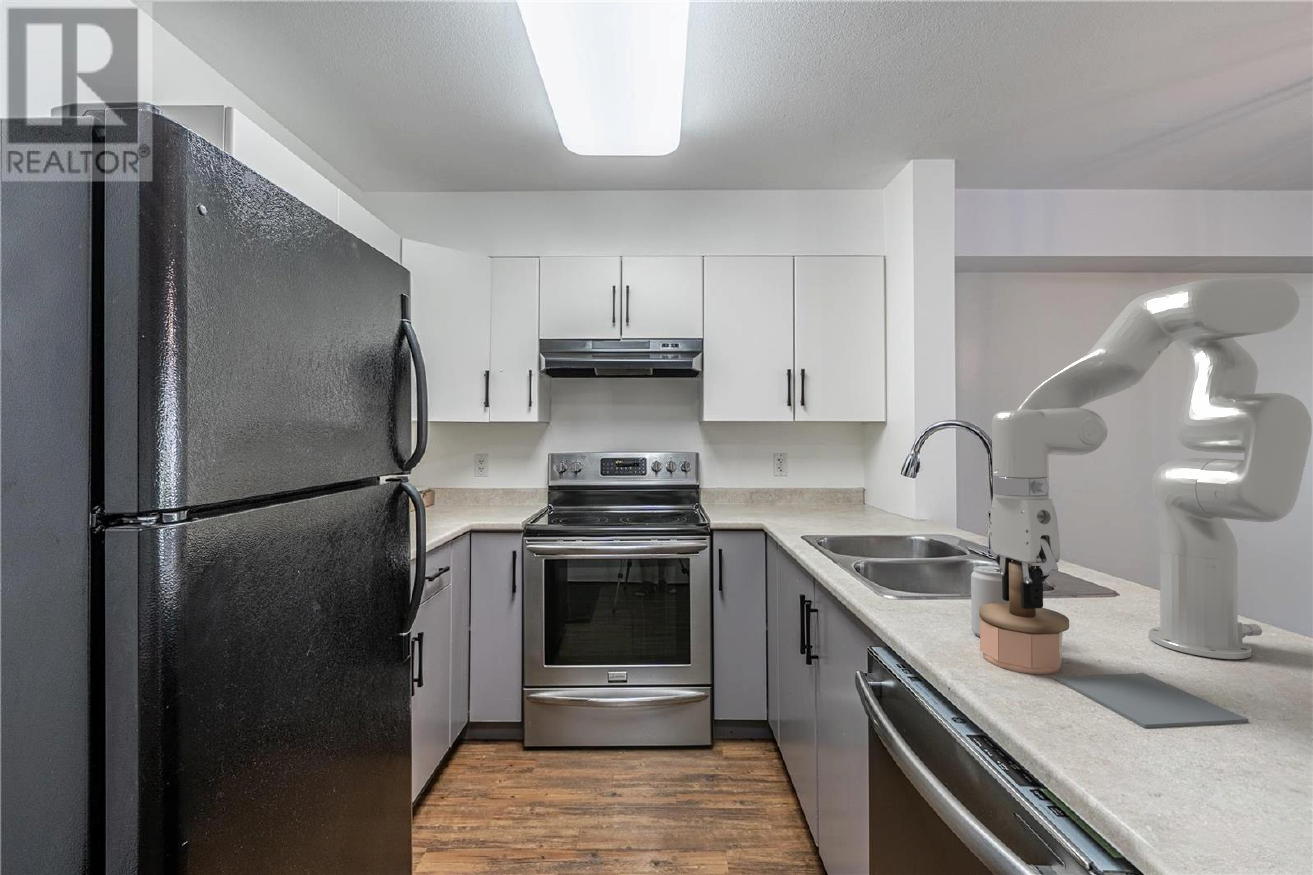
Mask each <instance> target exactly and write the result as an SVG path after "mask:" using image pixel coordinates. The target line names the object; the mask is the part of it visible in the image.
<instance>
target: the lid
mask: <svg viewBox="0 0 1313 875" xmlns="http://www.w3.org/2000/svg"><path fill="white" fill-rule="evenodd" d="M1035 568H1036V566H1033V567H1031V571H1033V570H1034V569H1035ZM1021 582H1025V581H1024V576H1023V568H1022V562H1020V561H1013V560H1011V561H1010V562H1009V603H991V604H985V605H982V606H981V607H980V608H979V616H980V618H981V619H982V620H984V621H986V622H988V623H990V624H993V625H996V626H999V627H1002V628H1006V629H1011V630H1016V631H1022V632H1031V633H1059V632H1062V633H1063V632H1066V631H1068V630H1069V629H1070V619H1069V617H1067V616H1066V615H1065V614H1063V613H1061V612H1058V611H1055V610H1052V609H1049V608H1045V607H1042V608H1036V609H1025V608H1022V606H1021Z"/></svg>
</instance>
